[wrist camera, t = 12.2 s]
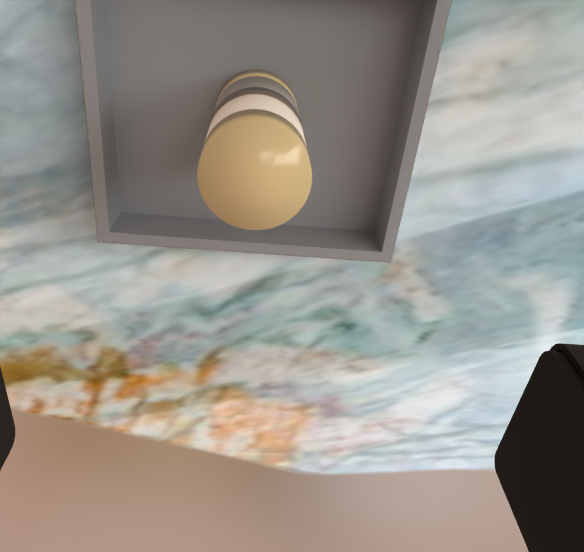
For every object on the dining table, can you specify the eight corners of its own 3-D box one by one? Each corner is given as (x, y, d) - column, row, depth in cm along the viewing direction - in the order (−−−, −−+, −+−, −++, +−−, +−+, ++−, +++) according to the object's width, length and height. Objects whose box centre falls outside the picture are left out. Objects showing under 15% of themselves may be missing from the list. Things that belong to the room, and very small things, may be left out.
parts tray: (435, -23, 24) (456, -19, 21) (380, 236, 31) (390, 262, 28) (90, -65, 23) (68, -67, 20) (112, 216, 29) (97, 242, 27)
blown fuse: (302, 72, 25) (319, 126, 18) (293, 154, 27) (305, 234, 20) (217, 64, 25) (197, 115, 17) (214, 148, 27) (196, 226, 19)
